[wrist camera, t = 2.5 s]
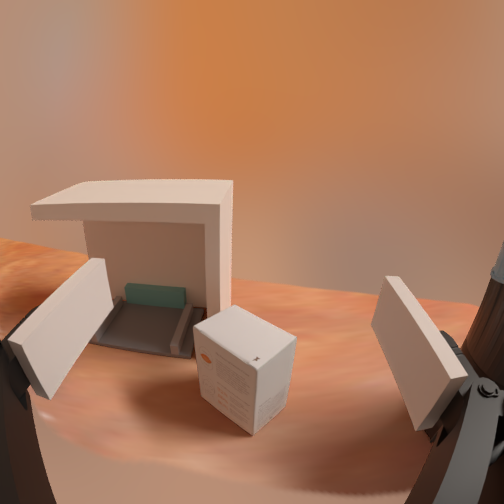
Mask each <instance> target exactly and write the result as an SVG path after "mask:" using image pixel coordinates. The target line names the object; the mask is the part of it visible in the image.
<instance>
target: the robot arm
mask: <svg viewBox="0 0 504 504" xmlns="http://www.w3.org/2000/svg"><path fill="white" fill-rule="evenodd" d="M490 275H491V279H490V282H489V285H488V287H487V290H486V293H485V295H484V298H483V301H482V303H481V306H480V308H479V310H478V313H477V315H476V317H475V319H474V321H473V324H472V326H471V328H470V330H469V332H468V335H467V337H466V339H465V341H464V343H463V345H462V346H461V348H458V345H457V344H456V342H455V341H454V339H453V338H452V337H451V336H449V335H448V334H447V333H446V332H444V331H439V330H438V329H437V327H436V326H435V324H434V323H433V321H432V320H431V319H430V317H429V316H428V315H427V313H426V312H425V310H424V309H423V308H422V306H421V305H420V304H419V302H418V301H417V300H416V298H415V297H414V296H413V294H412V293H411V292H410V290H409V289H408V288H407V286H406V285H405V284H404V283H403V281H402V280H401V279H400V277H399V276H385V277H384V281H383V284H382V288H381V292H380V295H379V299H378V303H377V306H376V309H375V313H374V316H373V319H372V323H371V326H372V328H373V330H374V332H375V334H376V337H377V339H378V341H379V343H380V345H381V348H382V350H383V352H384V354H385V357H386V359H387V361H388V364H389V366H390V368H391V371H392V373H393V375H394V378H395V380H396V383H397V385H398V388H399V390H400V392H401V395H402V397H403V400H404V403H405V405H406V408H407V410H408V413H409V415H410V418H411V421H412V423H413V426H414V429H415V431H419V430H424V429H425V431H426V432H427V434H428V436H429V437H430V438H431V440H430V442H431V443H432V442H434V444H433V446H432V449H431V451H430V453H429V456H428V458H427V460H426V462H425V464H424V467H423V469H422V471H421V473H420V475H419V477H418V479H417V481H416V483H415V485H414V487H413V489H412V491H411V493H410V494H409V496H408V498H407V500H406V502H405V503H404V504H504V242H503V244H502V247H501V250H500V253H499V256H498V258H497V261H496V264H495V266H494V267H493V268H492V270H491V274H490ZM112 309H113V302H112V297H111V292H110V287H109V282H108V277H107V271H106V265H105V259H101V258H91V259H90V260H88V261H87V262H86V263H85V264H84V265H83V266H82V267H81V268H79V269H78V270H77V271H76V272H75V273H74V274H73V275H72V276H71V277H70V278H68V279H67V280H66V281H65V282H64V283H63V284H62V285H61V286H60V287H59V288H58V289H57V290H56V291H55V292H54V293H52V294H51V295H50V296H49V297H48V298H47V299H46V300H45V301H44V302H43V303H42V304H40V305H39V306H37V307H35V308H34V309H32V310H31V311H30V312H29V313H28V314H27V315H26V316H25V318H23V319H22V320H21V321H20V323H18V324H17V325H16V326H15V327H14V328H13V329H12V330H11V331H10V333H9V334H8V335H7V336H6V337H5V338H4V339H3V340H2V341H1V340H0V504H56V501H55V498H54V495H53V493H52V489H51V486H50V483H49V481H48V477H47V474H46V470H45V467H44V463H43V459H42V456H41V452H40V448H39V444H38V439H37V435H36V429H35V424H34V419H33V413H32V407H31V400H30V395H29V392H28V391H27V388H28V387H29V386H30V384H31V386H32V388H33V390H34V391H35V393H36V395H39V396H41V397H44V398H46V399H48V400H51V399H52V397H53V396H54V394H55V392H56V391H57V389H58V388H59V386H60V384H61V383H62V381H63V380H64V378H65V377H66V375H67V373H68V372H69V370H70V369H71V367H72V366H73V364H74V363H75V361H76V360H77V358H78V357H79V355H80V354H81V352H82V351H83V350H84V348H85V347H86V345H87V344H88V342H89V341H90V339H91V338H92V337H93V335H94V334H95V332H96V331H97V329H98V328H99V327H100V325H101V324H102V322H103V321H104V320H105V318H106V317H107V316H108V314H109V313H110V311H111V310H112Z"/></svg>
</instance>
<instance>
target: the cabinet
mask: <svg viewBox="0 0 504 504" xmlns="http://www.w3.org/2000/svg"><path fill="white" fill-rule="evenodd" d="M232 202H233V180H200V179H151V180H150V179H149V180H148V179H147V180H110V181H91V182H82V183H79V184H77V185H74V186H72V187H70V188H67V189H65V190H63V191H60V192H58V193H55V194H53V195H51V196H48V197H46V198H44V199H42V200H39V201H37V202H35V203H33V204H31V205H30V208H31V215H32V220H71V221H73V220H75V221H83V226H84V233H85V239H86V246H87V252H88V257H89V260H90V259H91V258H101V259H105V265H106V271H107V277H108V282H109V287H110V292H111V297H112V299H114V300H112V302H113V309H112V310H111V311H110V313H109V314H108V316H107V317H106V318H105V320H104V321H103V322H102V324H101V325H100V327H99V328H98V329H97V331H96V332H95V334H94V335H93V337H92V338H91V339H90V341H89V342H88V343H92V344H97V345H102V346H107V347H112V348H117V349H123V350H129V351H135V352H141V353H148V354H155V355H162V356H170V357H178V358H187V359H191V355H192V352H193V348H194V345H195V344H194V334H193V326H194V325H196V324H198V323H200V322H201V320H202V317H203V313H204V309H203V308H207V319H208V318H210V317H211V316H213V315H215V314H217V313H219V312H221V311H223V310H225V309H227V308H229V307H231V254H232V253H231V252H232V204H233V203H232ZM123 300H127V301H123ZM193 307H203V308H193Z"/></svg>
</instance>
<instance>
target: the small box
mask: <svg viewBox="0 0 504 504" xmlns="http://www.w3.org/2000/svg"><path fill="white" fill-rule="evenodd" d="M193 334H194V344H195V353H196V361H197V369H198V377H199V384H200V392H201V396H202V397H203V398H204V399H205V400H206V401H208V402H209V403H210V404H211V405H213V406H214V407H215V408H216V409H218V410H219V411H220V412H221V413H223V414H224V415H225V416H227V417H228V418H229V419H230V420H232V421H233V422H234V423H236V424H237V425H238V426H240V427H241V428H243V429H244V430H245V431H247V432H248V433H249V434H251V435H252V436H253V435H254V434H255V433H257V432H258V431H259V430H260V429H261V428H262V427H263V426H265V425H266V424H267V423H268V422H269V421H270V420H271V419H273V418H274V417H275V416H276V415H277V414H278V413H279V412H280V411H281V410H282V409H283V408H285V406H286V402H287V396H288V391H289V385H290V379H291V373H292V367H293V361H294V355H295V348H296V342H297V337H296V336H294V335H292V334H290V333H288V332H286V331H284V330H282V329H280V328H278V327H276V326H274V325H272V324H270V323H268V322H267V321H265V320H263V319H261V318H259V317H257V316H255V315H253V314H251V313H250V312H248V311H246V310H244V309H242V308H241V307H239V306H237V305H233V306H231V307H229V308H227V309H225V310H223V311H221V312H219V313H217V314H215V315H213V316H211V317H210V318H208V319H206V320H204V321H202V322H200V323H198V324H196V325H194V326H193Z"/></svg>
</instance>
